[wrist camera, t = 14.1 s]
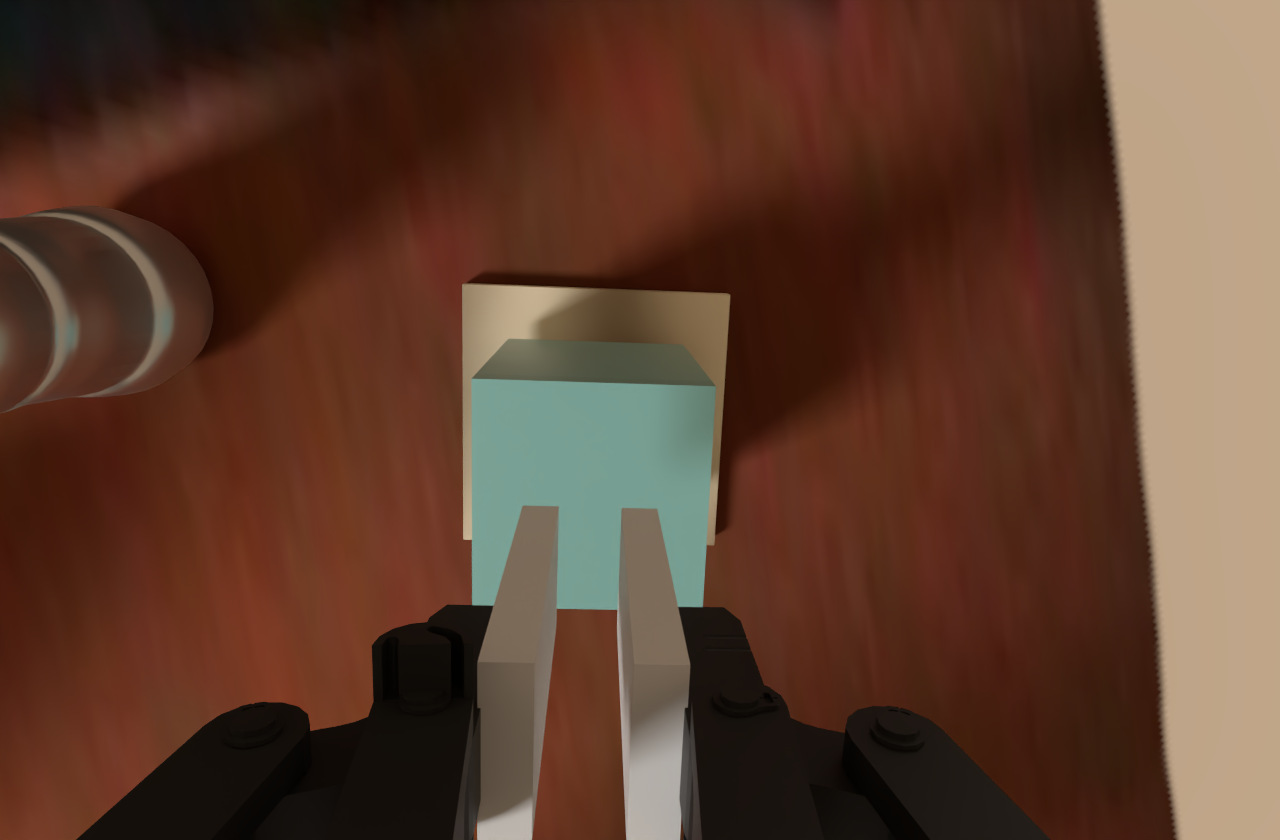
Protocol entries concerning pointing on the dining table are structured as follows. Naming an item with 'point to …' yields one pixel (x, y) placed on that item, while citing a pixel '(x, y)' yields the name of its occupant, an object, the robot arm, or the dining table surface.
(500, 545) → the matte teal cube
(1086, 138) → the dining table surface
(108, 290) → the plastic bottle
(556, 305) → the beige t-shaped piece
